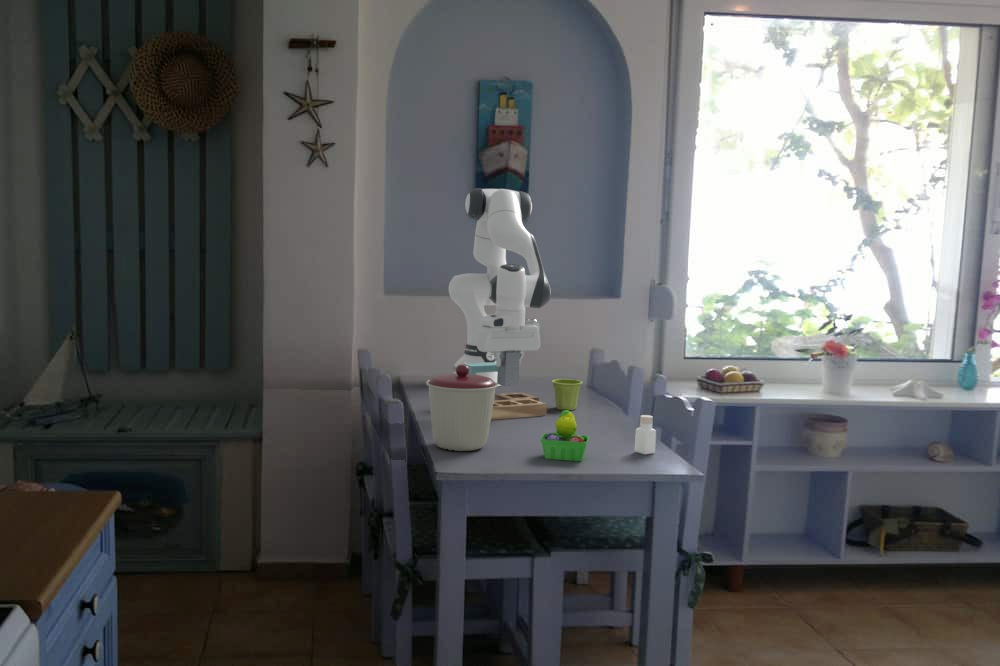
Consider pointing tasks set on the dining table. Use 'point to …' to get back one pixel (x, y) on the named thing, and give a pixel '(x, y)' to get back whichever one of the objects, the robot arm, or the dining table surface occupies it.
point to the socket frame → (514, 396)
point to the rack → (517, 408)
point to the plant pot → (566, 393)
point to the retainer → (482, 367)
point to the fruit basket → (564, 440)
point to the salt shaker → (645, 436)
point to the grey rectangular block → (509, 369)
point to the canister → (461, 409)
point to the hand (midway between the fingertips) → (508, 366)
